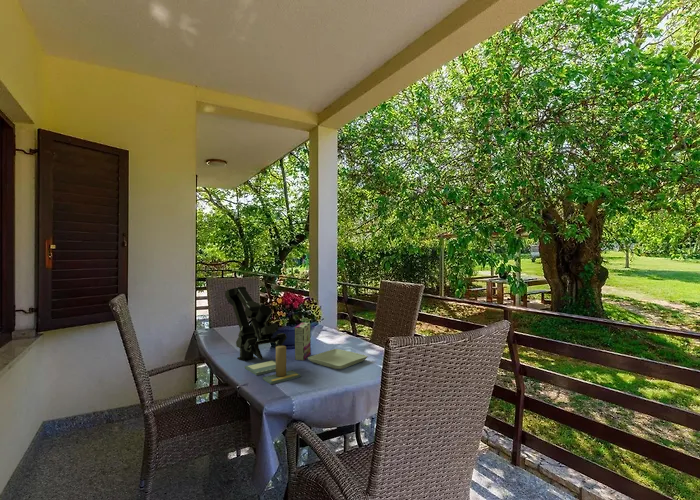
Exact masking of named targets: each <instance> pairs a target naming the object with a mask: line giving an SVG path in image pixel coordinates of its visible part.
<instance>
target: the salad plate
mask: <svg viewBox="0 0 700 500" xmlns="http://www.w3.org/2000/svg"><path fill="white" fill-rule="evenodd" d="M307 359H308V361H310V362H311V363H313V364H317V365H320V366H323V367H327V368H331V369H334V370H343V369H346V368H349V367H351V366H354V365H356V364H359V363H361V362H364V361H366V359H368V355H366V354H362V353H358V352H353V351H349V350H345V349H341V348H340V349H339V348H333V349H330V350H326V351H324V352H320V353H317V354H313V355H311V356H310V355H309V356H308V357H307Z"/></svg>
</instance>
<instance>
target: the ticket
mask: <svg viewBox="0 0 700 500" xmlns="http://www.w3.org/2000/svg"><path fill="white" fill-rule="evenodd" d="M245 369H246V371H248V372H250V373H251V374H253V375H255V376H261V375H264V374H268V373H269V374H270V373H273V372H276V360H273V359H272V360H267V361H262V362H258V363H253V364H248V365H244V370H245Z"/></svg>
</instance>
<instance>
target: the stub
mask: <svg viewBox="0 0 700 500" xmlns="http://www.w3.org/2000/svg"><path fill="white" fill-rule="evenodd" d="M275 346H276V345H275ZM275 362H276V371H275V374H271V375H267V376H262V380H263V381H265V382H266V383H268V385H269V384H270V385H273V384H278V383H282V382H286V381H290V380H294V379H297V378H302V376H301V375H302V374H301V373H299V372H297V371H294V370H287V346H286V345H282V346H276V347H275Z"/></svg>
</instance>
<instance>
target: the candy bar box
mask: <svg viewBox="0 0 700 500" xmlns="http://www.w3.org/2000/svg"><path fill="white" fill-rule="evenodd" d="M311 335H312V334H311V322H300V323H299V324H297V325H296V326H294V360H295V361H302V362H303V361H306V360H307V359H308V357H310V355H311V354H312V350H311V349H312V348H311V345H312V343H311Z"/></svg>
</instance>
